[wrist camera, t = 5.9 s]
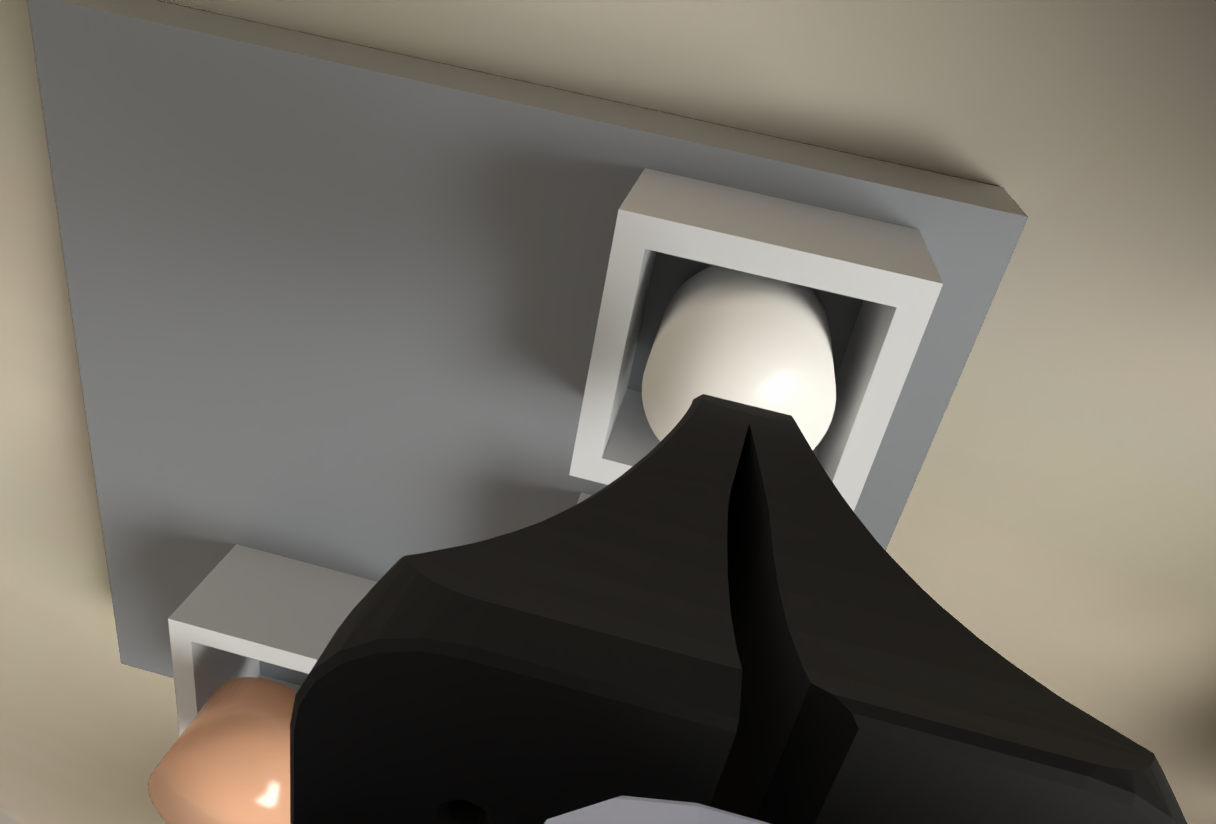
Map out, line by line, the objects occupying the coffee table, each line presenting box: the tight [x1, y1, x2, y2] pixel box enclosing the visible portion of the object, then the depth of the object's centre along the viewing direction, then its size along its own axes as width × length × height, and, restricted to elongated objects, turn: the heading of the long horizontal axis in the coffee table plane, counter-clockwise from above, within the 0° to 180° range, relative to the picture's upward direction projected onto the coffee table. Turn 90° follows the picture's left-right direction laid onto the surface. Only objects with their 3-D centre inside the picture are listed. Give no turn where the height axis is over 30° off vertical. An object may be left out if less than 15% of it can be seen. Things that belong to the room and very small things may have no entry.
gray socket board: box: [27, 0, 1028, 736], centre depth 19 cm, size 17×18×5 cm
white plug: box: [642, 265, 836, 450], centre depth 15 cm, size 3×3×2 cm
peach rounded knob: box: [148, 677, 297, 824], centre depth 19 cm, size 3×3×2 cm
